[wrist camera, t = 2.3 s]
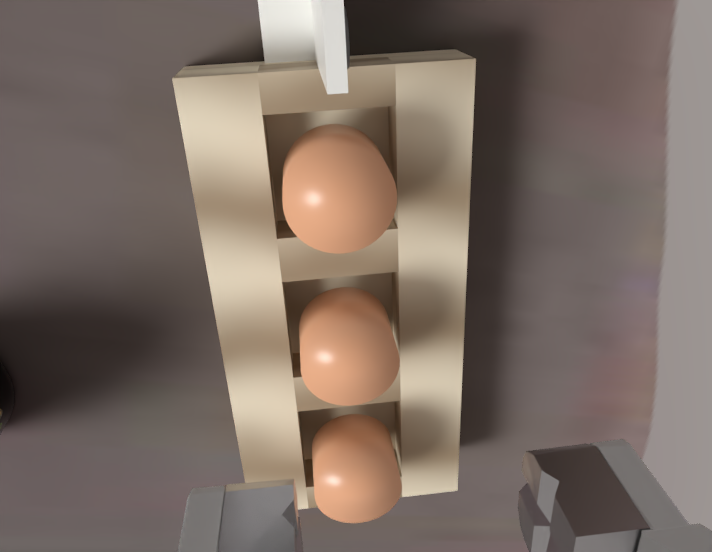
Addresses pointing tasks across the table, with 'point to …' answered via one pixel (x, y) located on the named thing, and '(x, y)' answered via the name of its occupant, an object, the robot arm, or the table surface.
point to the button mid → (347, 347)
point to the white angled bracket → (308, 37)
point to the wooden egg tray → (328, 270)
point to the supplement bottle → (5, 397)
